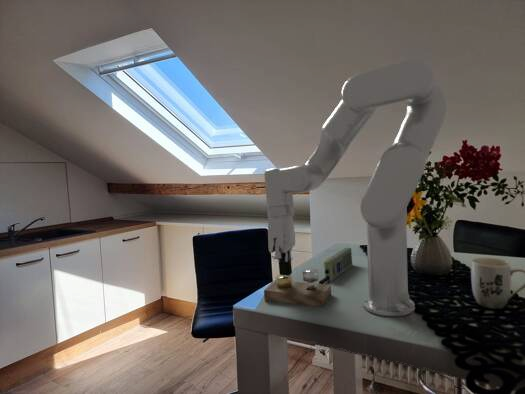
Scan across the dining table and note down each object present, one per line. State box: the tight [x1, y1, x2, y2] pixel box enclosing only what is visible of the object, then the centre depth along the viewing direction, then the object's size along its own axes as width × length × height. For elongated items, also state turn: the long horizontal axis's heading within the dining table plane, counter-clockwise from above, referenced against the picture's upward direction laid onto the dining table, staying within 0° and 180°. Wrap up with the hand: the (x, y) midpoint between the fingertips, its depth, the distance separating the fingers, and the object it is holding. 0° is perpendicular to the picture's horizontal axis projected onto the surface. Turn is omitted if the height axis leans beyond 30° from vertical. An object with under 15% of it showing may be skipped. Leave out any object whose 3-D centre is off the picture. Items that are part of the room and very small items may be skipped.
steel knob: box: [301, 267, 320, 291], centre depth 103 cm, size 4×4×6 cm
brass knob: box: [275, 274, 293, 288], centre depth 106 cm, size 4×4×6 cm
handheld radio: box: [318, 247, 353, 284], centre depth 123 cm, size 7×3×25 cm
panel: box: [263, 280, 332, 308], centre depth 105 cm, size 17×9×3 cm, turn 66°
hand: (285, 274), depth 106 cm, fingers closed
